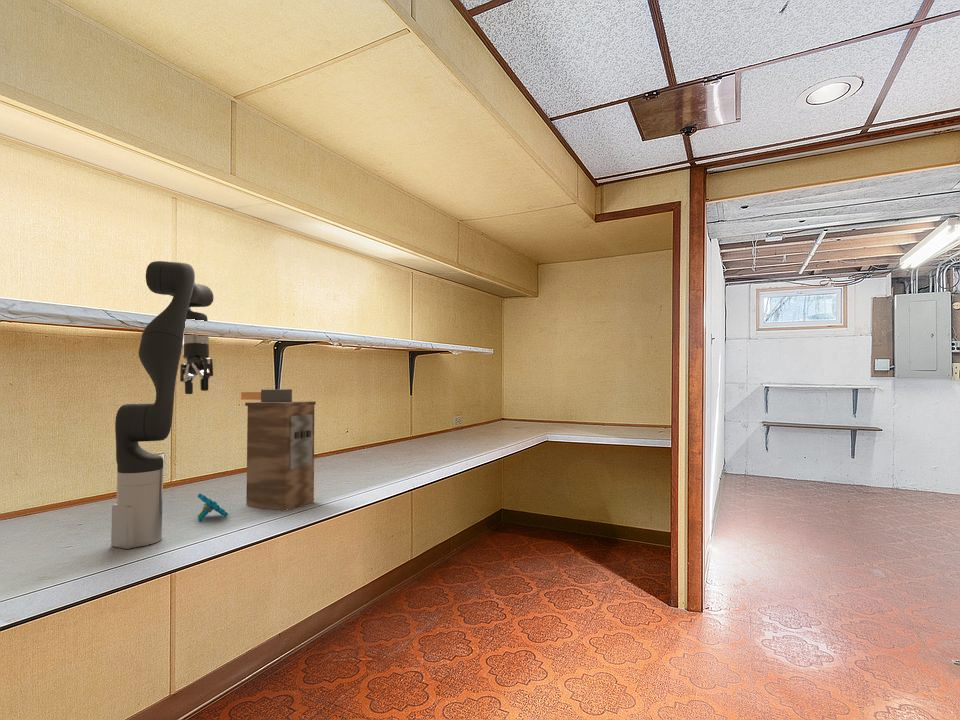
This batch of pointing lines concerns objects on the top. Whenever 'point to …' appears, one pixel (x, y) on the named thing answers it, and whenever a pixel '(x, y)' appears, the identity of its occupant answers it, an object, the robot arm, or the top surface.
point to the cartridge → (269, 395)
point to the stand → (280, 454)
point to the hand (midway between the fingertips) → (196, 392)
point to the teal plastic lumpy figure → (209, 507)
